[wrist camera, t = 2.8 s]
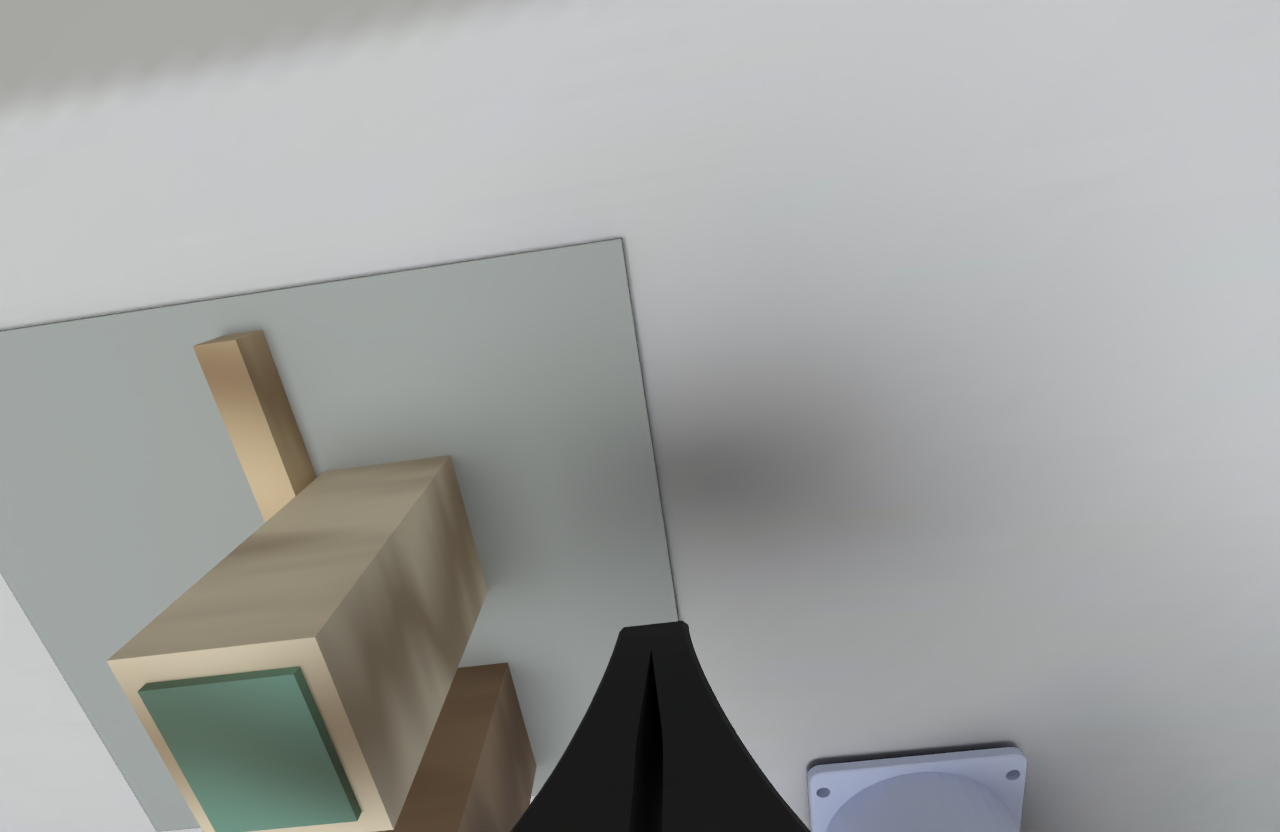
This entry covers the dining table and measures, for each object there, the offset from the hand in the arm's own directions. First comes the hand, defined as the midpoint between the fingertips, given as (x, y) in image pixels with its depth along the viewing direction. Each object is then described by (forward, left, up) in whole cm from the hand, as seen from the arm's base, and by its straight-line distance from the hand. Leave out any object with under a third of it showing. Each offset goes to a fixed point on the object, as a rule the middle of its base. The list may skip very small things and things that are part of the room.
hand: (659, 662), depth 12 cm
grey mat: (-2, +11, -7) cm, 13 cm away
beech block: (0, +8, -7) cm, 10 cm away
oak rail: (-2, +11, -7) cm, 13 cm away
